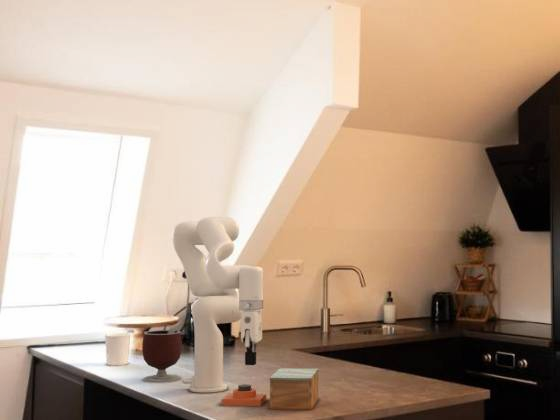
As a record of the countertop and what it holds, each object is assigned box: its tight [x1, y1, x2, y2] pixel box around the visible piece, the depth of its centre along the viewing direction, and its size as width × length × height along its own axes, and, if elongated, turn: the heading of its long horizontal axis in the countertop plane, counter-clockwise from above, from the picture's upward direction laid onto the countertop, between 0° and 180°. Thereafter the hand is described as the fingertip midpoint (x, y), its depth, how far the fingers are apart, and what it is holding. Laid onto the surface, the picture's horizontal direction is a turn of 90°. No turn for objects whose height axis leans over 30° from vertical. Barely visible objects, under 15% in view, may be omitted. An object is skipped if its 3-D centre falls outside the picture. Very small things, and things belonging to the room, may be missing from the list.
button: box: [237, 383, 252, 391], centre depth 239 cm, size 4×4×2 cm
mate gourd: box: [141, 321, 183, 383], centre depth 280 cm, size 16×14×20 cm
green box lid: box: [269, 367, 319, 381], centre depth 237 cm, size 16×13×1 cm
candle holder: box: [104, 332, 131, 366], centre depth 313 cm, size 10×10×12 cm
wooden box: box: [269, 371, 319, 411], centre depth 237 cm, size 16×13×9 cm
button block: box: [221, 387, 267, 407], centre depth 239 cm, size 12×9×4 cm
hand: (250, 364), depth 239 cm, fingers closed
